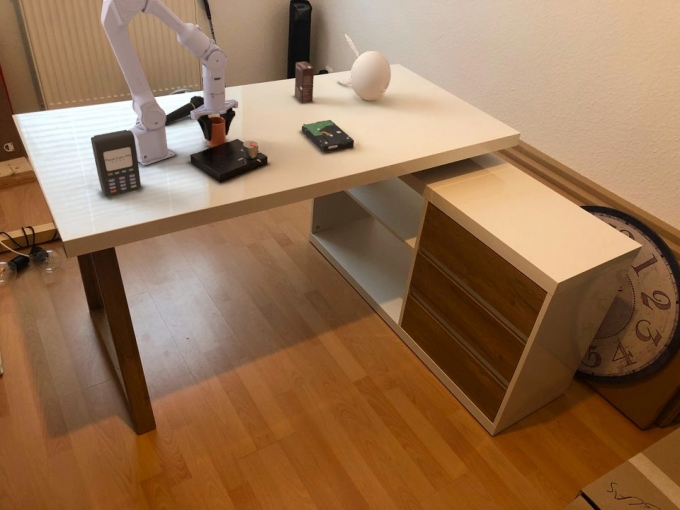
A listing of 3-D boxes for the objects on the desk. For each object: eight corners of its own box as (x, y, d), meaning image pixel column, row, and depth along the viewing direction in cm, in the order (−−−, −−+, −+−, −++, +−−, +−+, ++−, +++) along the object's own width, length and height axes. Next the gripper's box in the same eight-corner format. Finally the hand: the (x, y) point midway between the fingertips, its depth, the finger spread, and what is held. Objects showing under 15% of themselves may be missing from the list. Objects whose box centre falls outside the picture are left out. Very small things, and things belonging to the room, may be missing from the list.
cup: (214, 149, 155) (213, 126, 151) (203, 142, 158) (201, 119, 153) (229, 144, 158) (229, 121, 154) (218, 137, 161) (217, 114, 156)
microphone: (157, 139, 163) (210, 113, 174) (157, 125, 158) (211, 99, 170) (145, 128, 164) (198, 103, 175) (145, 113, 160) (199, 89, 171)
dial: (240, 154, 149) (239, 142, 147) (251, 150, 152) (251, 138, 150) (249, 160, 147) (249, 148, 145) (261, 156, 150) (261, 143, 148)
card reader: (105, 199, 131) (93, 142, 122) (99, 191, 134) (88, 135, 125) (143, 190, 136) (135, 134, 127) (137, 182, 138) (128, 127, 129)
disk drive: (354, 148, 165) (329, 127, 174) (355, 140, 163) (330, 118, 172) (323, 154, 160) (300, 131, 169) (324, 145, 158) (301, 123, 168)
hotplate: (223, 184, 142) (222, 175, 140) (190, 163, 149) (189, 154, 147) (271, 165, 152) (272, 156, 150) (239, 145, 159) (239, 137, 157)
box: (293, 96, 190) (295, 62, 182) (305, 95, 192) (307, 61, 184) (300, 103, 186) (302, 68, 178) (312, 102, 188) (315, 67, 180)
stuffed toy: (407, 61, 182) (362, 28, 194) (375, 70, 175) (330, 35, 188) (396, 111, 195) (355, 77, 208) (366, 121, 189) (325, 85, 202)
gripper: (200, 101, 142) (203, 149, 150) (245, 89, 151) (245, 135, 159) (184, 92, 145) (188, 139, 154) (228, 81, 154) (229, 126, 163)
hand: (216, 136), depth 157 cm, fingers closed on cup, 5 cm apart
